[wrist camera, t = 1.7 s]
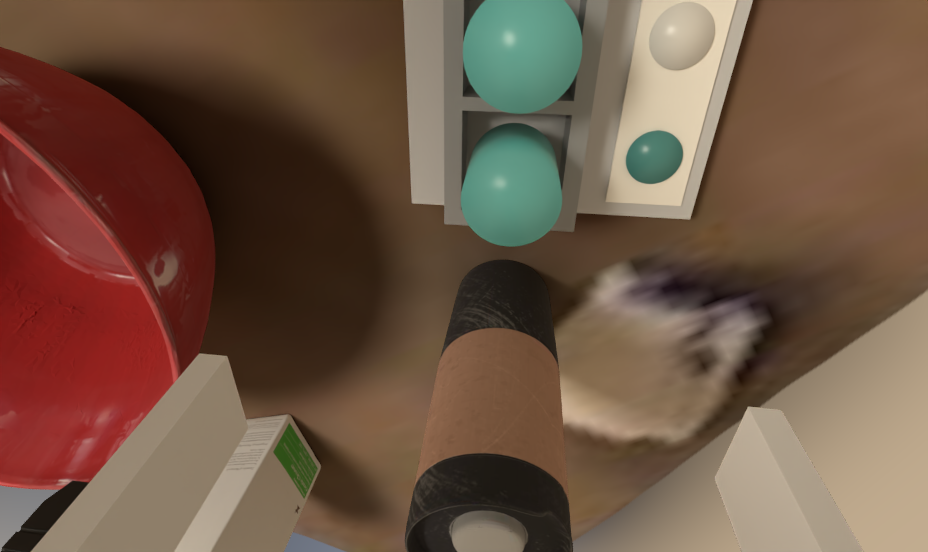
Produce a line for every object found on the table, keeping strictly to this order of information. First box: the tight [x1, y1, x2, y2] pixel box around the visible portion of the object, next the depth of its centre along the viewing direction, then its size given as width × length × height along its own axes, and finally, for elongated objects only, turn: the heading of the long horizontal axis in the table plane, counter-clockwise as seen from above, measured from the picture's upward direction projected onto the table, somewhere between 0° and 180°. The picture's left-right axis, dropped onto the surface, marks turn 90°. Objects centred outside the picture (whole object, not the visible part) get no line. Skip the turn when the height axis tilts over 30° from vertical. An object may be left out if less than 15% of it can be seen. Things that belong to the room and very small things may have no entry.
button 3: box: [461, 123, 562, 246], centre depth 26 cm, size 5×5×5 cm
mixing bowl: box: [0, 47, 215, 490], centre depth 31 cm, size 28×28×16 cm
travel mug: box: [405, 260, 573, 552], centre depth 30 cm, size 8×8×20 cm
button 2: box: [463, 0, 582, 114], centre depth 22 cm, size 5×5×5 cm
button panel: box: [403, 0, 753, 232], centre depth 26 cm, size 21×18×5 cm
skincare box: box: [174, 414, 321, 552], centre depth 44 cm, size 8×7×16 cm
